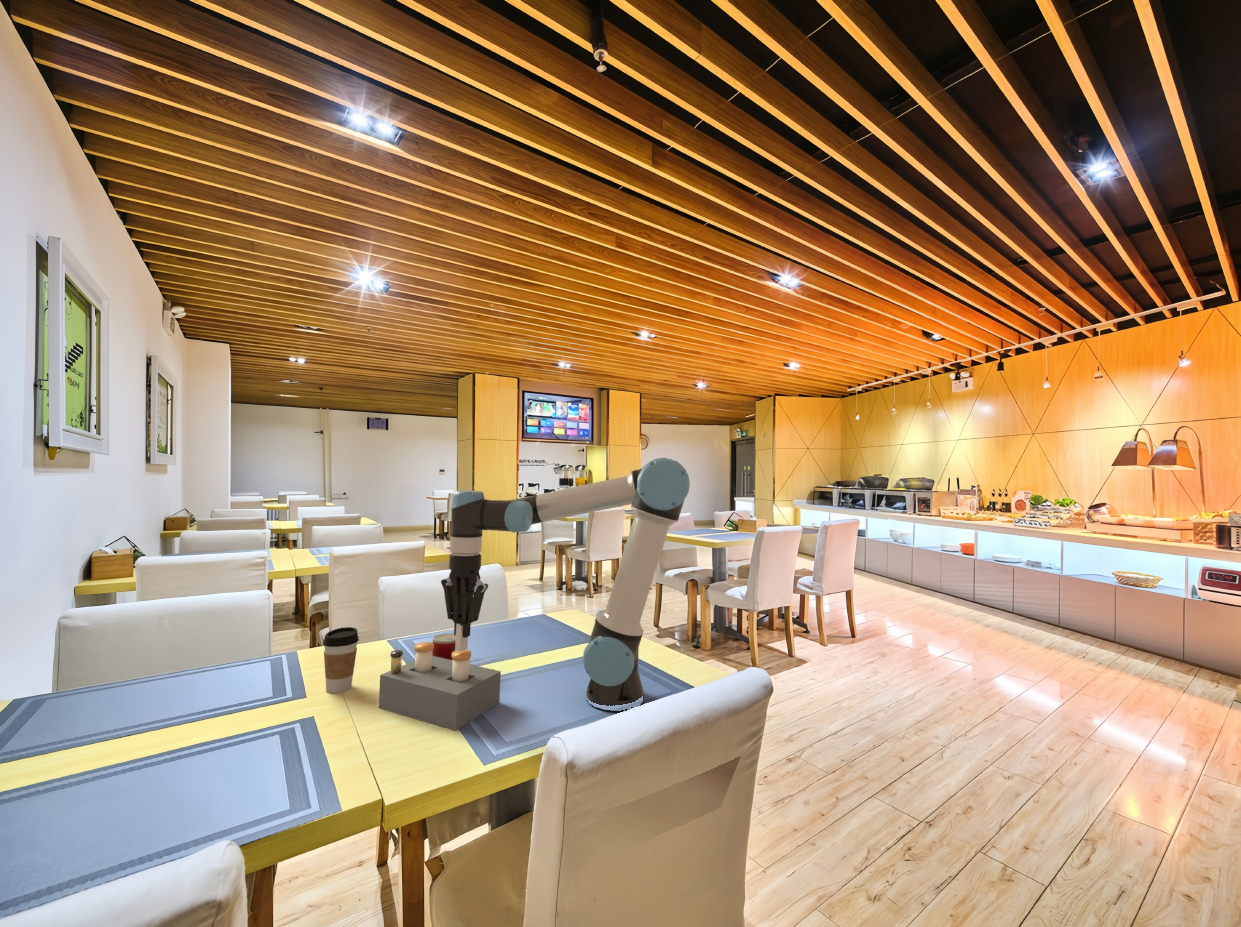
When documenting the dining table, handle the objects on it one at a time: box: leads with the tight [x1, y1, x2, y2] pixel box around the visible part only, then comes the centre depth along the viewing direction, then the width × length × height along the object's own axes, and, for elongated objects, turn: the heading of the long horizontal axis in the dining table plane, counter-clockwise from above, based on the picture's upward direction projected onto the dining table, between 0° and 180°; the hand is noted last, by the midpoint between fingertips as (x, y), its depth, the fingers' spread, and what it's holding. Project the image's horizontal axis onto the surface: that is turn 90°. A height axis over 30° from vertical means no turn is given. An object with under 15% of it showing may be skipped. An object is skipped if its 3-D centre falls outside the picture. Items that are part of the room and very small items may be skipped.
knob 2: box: [452, 649, 472, 683], centre depth 126 cm, size 5×5×8 cm
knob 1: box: [414, 641, 434, 674], centre depth 131 cm, size 5×5×8 cm
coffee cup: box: [322, 626, 360, 694], centre depth 136 cm, size 8×8×15 cm
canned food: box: [432, 632, 456, 660], centre depth 147 cm, size 8×8×11 cm
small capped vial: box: [390, 649, 404, 674], centre depth 128 cm, size 3×3×5 cm
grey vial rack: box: [378, 656, 502, 732], centre depth 128 cm, size 24×16×8 cm, turn 66°
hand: (461, 649), depth 126 cm, fingers closed
